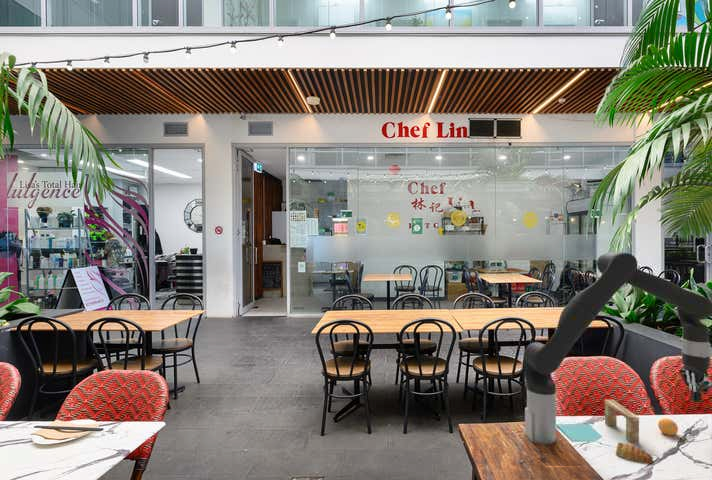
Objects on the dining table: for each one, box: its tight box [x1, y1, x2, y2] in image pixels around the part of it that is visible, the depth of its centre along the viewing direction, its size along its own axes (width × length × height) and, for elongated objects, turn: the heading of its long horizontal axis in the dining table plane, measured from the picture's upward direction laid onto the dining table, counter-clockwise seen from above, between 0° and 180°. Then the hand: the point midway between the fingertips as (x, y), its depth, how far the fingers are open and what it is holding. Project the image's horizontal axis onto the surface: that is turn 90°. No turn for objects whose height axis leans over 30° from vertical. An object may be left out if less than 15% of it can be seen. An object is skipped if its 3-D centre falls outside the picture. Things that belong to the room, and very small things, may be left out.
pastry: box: [615, 442, 654, 464], centre depth 123 cm, size 9×7×4 cm
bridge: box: [604, 399, 640, 444], centre depth 139 cm, size 3×14×9 cm, turn 177°
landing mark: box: [556, 423, 603, 442], centre depth 140 cm, size 12×12×1 cm
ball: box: [657, 417, 679, 437], centre depth 138 cm, size 6×6×6 cm
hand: (696, 401), depth 137 cm, fingers closed
